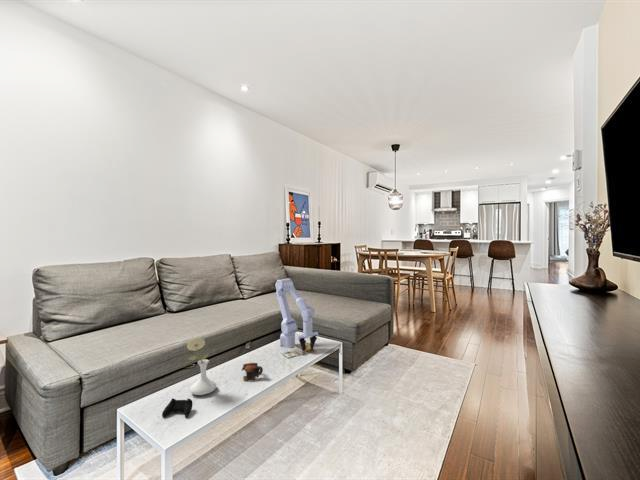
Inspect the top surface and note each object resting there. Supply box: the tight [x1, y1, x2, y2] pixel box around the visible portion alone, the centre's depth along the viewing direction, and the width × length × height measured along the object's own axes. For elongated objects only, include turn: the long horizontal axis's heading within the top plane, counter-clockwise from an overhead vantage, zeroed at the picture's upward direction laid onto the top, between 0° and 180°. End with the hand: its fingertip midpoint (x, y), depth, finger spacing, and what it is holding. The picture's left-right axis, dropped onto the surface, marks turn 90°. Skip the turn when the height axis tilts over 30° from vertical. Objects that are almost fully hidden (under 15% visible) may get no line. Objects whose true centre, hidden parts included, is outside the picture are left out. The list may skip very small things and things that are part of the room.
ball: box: [305, 343, 311, 351], centre depth 187 cm, size 4×4×4 cm
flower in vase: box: [186, 337, 217, 396], centre depth 140 cm, size 13×11×25 cm
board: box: [280, 345, 317, 360], centre depth 184 cm, size 20×9×4 cm, turn 124°
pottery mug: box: [241, 362, 264, 382], centre depth 155 cm, size 12×10×8 cm
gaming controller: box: [161, 398, 193, 418], centre depth 123 cm, size 11×4×7 cm
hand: (307, 349), depth 187 cm, fingers open, 5 cm apart
